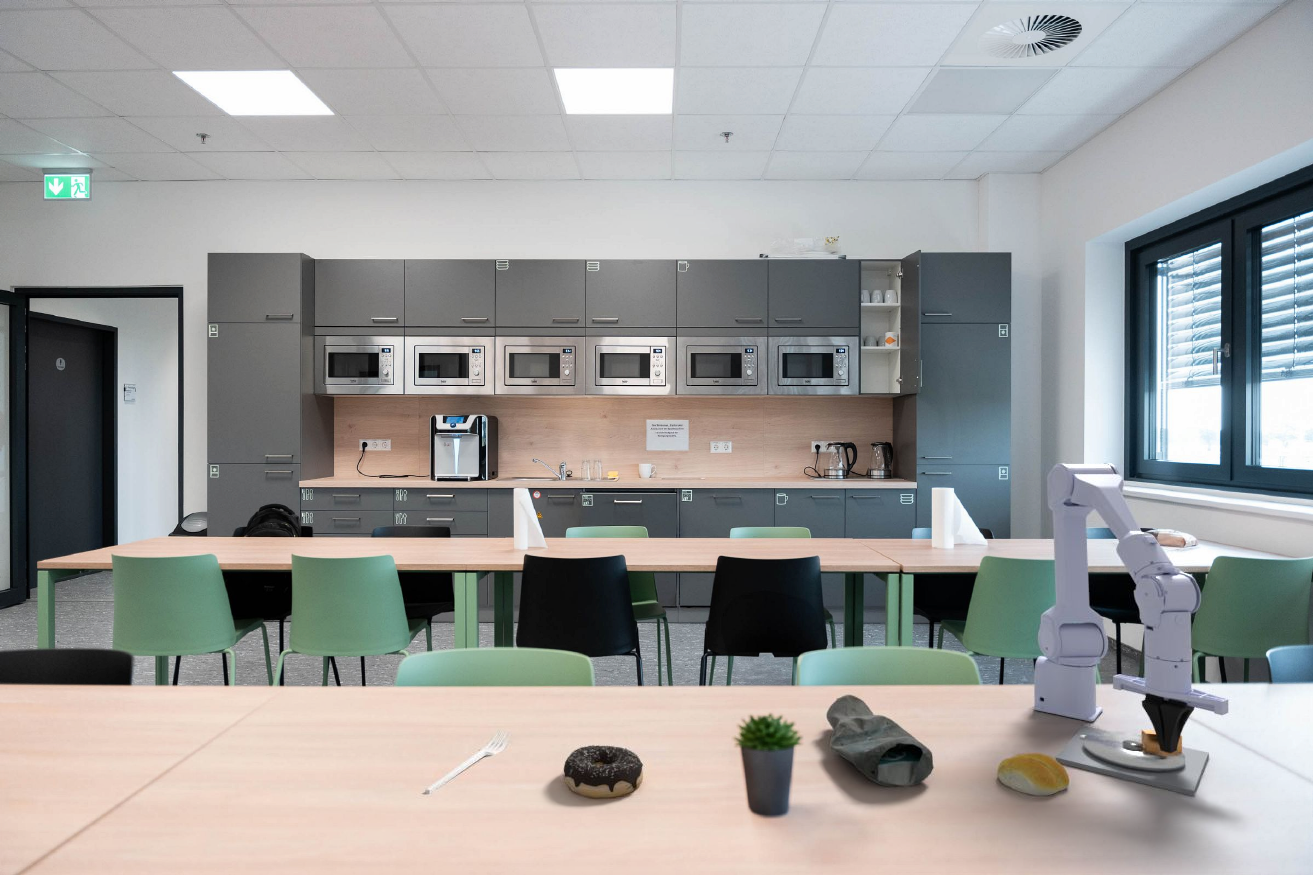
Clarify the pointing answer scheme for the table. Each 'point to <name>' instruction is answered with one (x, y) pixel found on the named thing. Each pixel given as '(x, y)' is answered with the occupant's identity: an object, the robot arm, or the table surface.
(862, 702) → the crumpled grey pouch
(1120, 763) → the handwheel
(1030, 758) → the bread roll
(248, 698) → the table surface
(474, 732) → the table surface
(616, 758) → the donut
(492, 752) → the fork
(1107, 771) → the base plate
